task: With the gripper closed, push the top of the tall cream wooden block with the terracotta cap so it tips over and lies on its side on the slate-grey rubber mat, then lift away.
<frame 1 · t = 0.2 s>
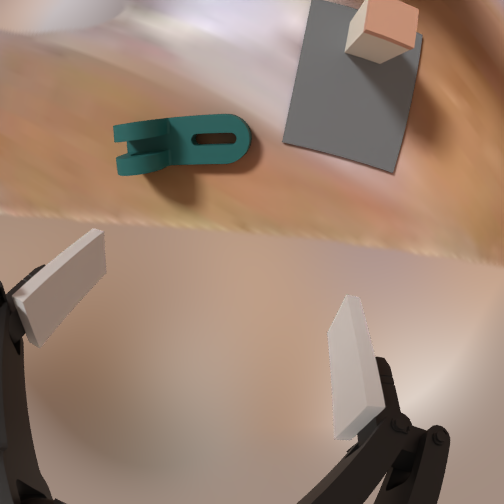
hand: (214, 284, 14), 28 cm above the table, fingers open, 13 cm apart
slate mat: (357, 81, 31), on the table
bracket: (189, 138, 38), on the table
cream block: (365, 42, 28), resting on slate mat
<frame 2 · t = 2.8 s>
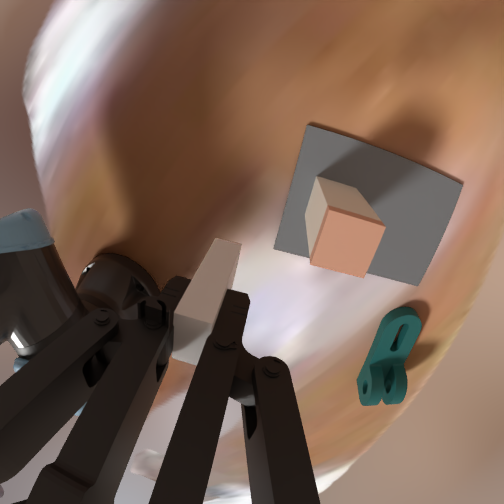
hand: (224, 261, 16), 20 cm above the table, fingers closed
slate mat: (374, 213, 34), on the table
bracket: (387, 346, 44), on the table
cream block: (330, 201, 33), resting on slate mat
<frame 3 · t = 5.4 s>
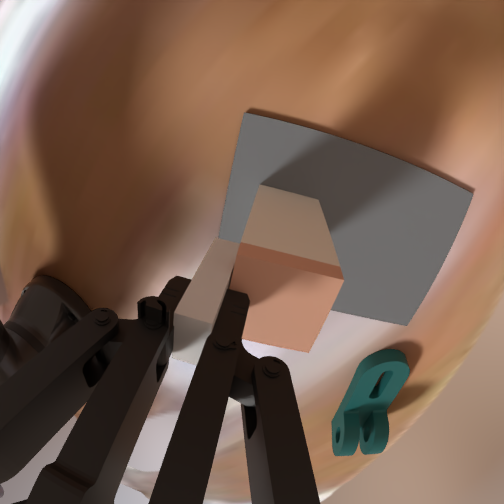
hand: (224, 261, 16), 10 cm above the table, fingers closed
slate mat: (346, 234, 25), on the table
bracket: (368, 389, 35), on the table
cream block: (281, 219, 24), point 1 cm above the table, touching gripper, slate mat
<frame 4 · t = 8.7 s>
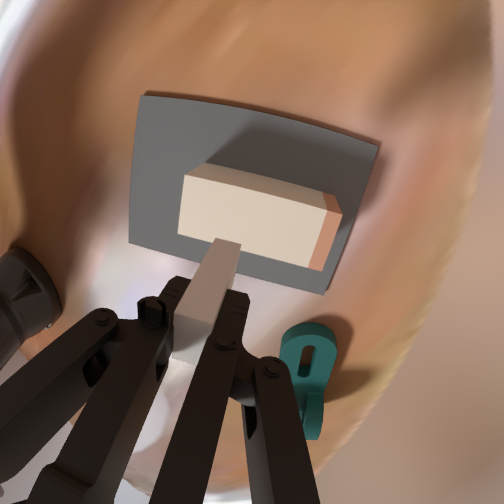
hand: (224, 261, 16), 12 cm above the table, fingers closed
slate mat: (237, 195, 27), on the table
bracket: (302, 368, 37), on the table
cream block: (191, 195, 24), point 3 cm above the table, tilted 90°, touching slate mat
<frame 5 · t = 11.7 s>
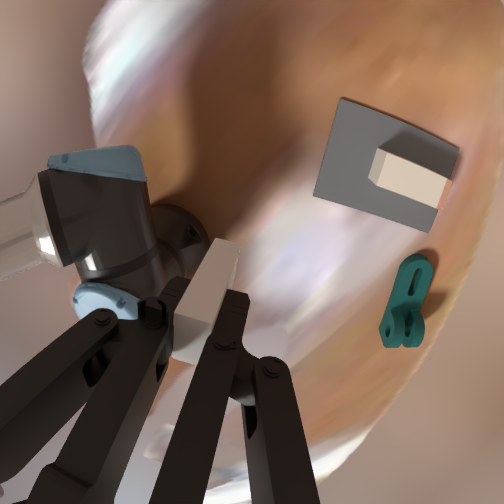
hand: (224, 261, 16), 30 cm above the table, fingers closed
slate mat: (390, 169, 40), on the table
bracket: (405, 293, 51), on the table
cream block: (377, 165, 38), point 3 cm above the table, tilted 90°, touching slate mat
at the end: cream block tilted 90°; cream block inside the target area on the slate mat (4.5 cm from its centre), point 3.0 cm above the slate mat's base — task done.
